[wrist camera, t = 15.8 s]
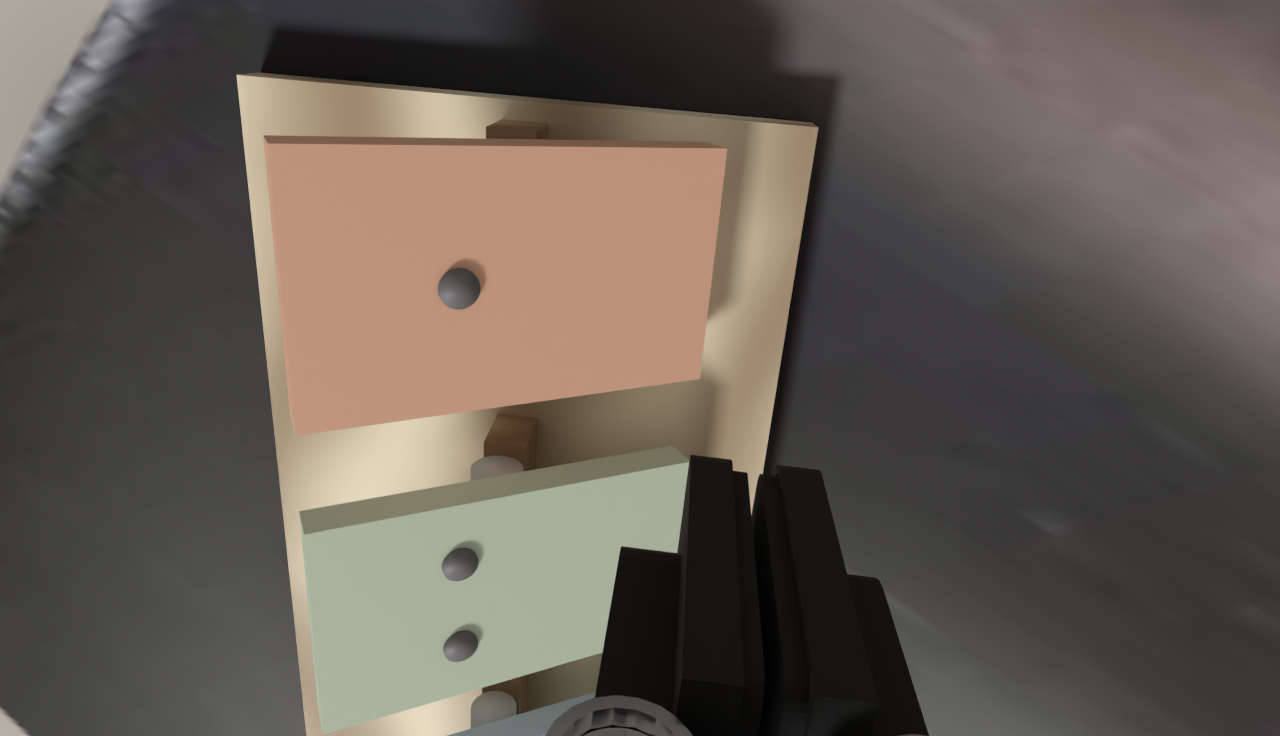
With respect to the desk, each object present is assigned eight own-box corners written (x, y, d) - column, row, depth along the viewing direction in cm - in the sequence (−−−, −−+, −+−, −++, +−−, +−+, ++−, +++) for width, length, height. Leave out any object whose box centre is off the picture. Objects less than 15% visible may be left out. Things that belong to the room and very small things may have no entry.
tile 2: (650, 424, 24) (692, 463, 22) (634, 585, 27) (671, 635, 25) (292, 481, 20) (305, 537, 18) (311, 669, 22) (323, 738, 20)
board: (811, 122, 22) (830, 136, 19) (709, 772, 31) (711, 844, 28) (259, 72, 22) (197, 79, 19) (322, 731, 31) (286, 798, 29)
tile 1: (677, 133, 21) (730, 149, 19) (656, 346, 24) (702, 380, 22) (257, 125, 17) (268, 144, 15) (282, 390, 19) (296, 438, 17)
